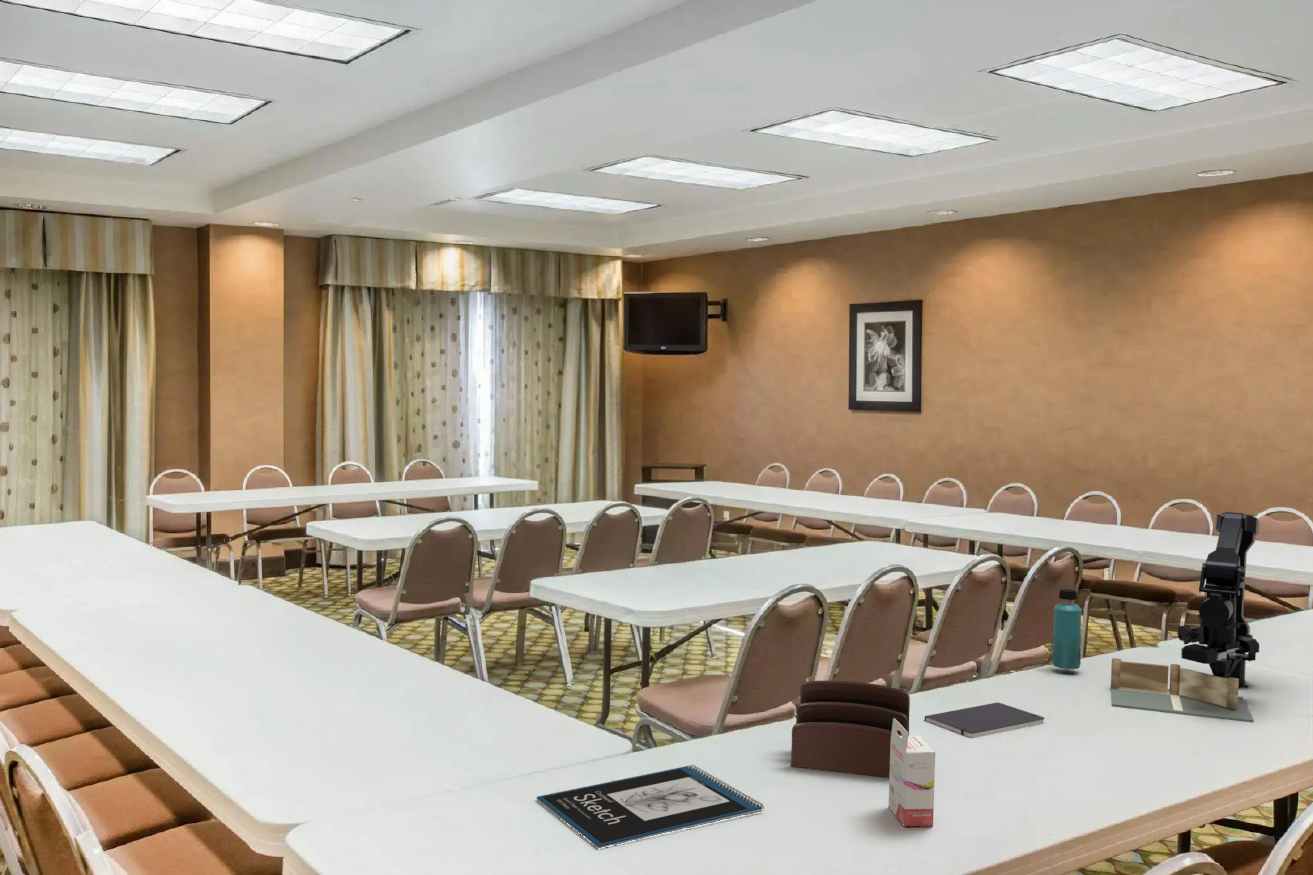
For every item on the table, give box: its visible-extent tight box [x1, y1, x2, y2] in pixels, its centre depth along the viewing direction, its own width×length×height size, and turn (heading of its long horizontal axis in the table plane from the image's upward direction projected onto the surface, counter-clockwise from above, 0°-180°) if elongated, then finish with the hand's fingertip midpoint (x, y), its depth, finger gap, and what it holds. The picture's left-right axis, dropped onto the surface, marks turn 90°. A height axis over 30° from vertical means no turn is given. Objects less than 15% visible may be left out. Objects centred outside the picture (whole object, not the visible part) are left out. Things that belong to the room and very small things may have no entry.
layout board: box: [1110, 687, 1255, 723], centre depth 241 cm, size 19×27×1 cm
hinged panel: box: [1179, 667, 1239, 709], centre depth 240 cm, size 13×2×6 cm, turn 33°
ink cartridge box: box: [888, 718, 936, 828], centre depth 174 cm, size 9×5×15 cm, turn 5°
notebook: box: [924, 701, 1045, 739], centre depth 225 cm, size 13×2×21 cm
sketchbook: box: [536, 764, 765, 849], centre depth 177 cm, size 22×30×2 cm
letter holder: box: [790, 680, 911, 779], centre depth 198 cm, size 10×20×14 cm, turn 73°
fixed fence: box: [1110, 657, 1181, 695], centre depth 248 cm, size 2×14×7 cm, turn 68°
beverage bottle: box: [1051, 588, 1082, 670], centre depth 265 cm, size 6×7×20 cm
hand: (1220, 688), depth 240 cm, fingers closed
